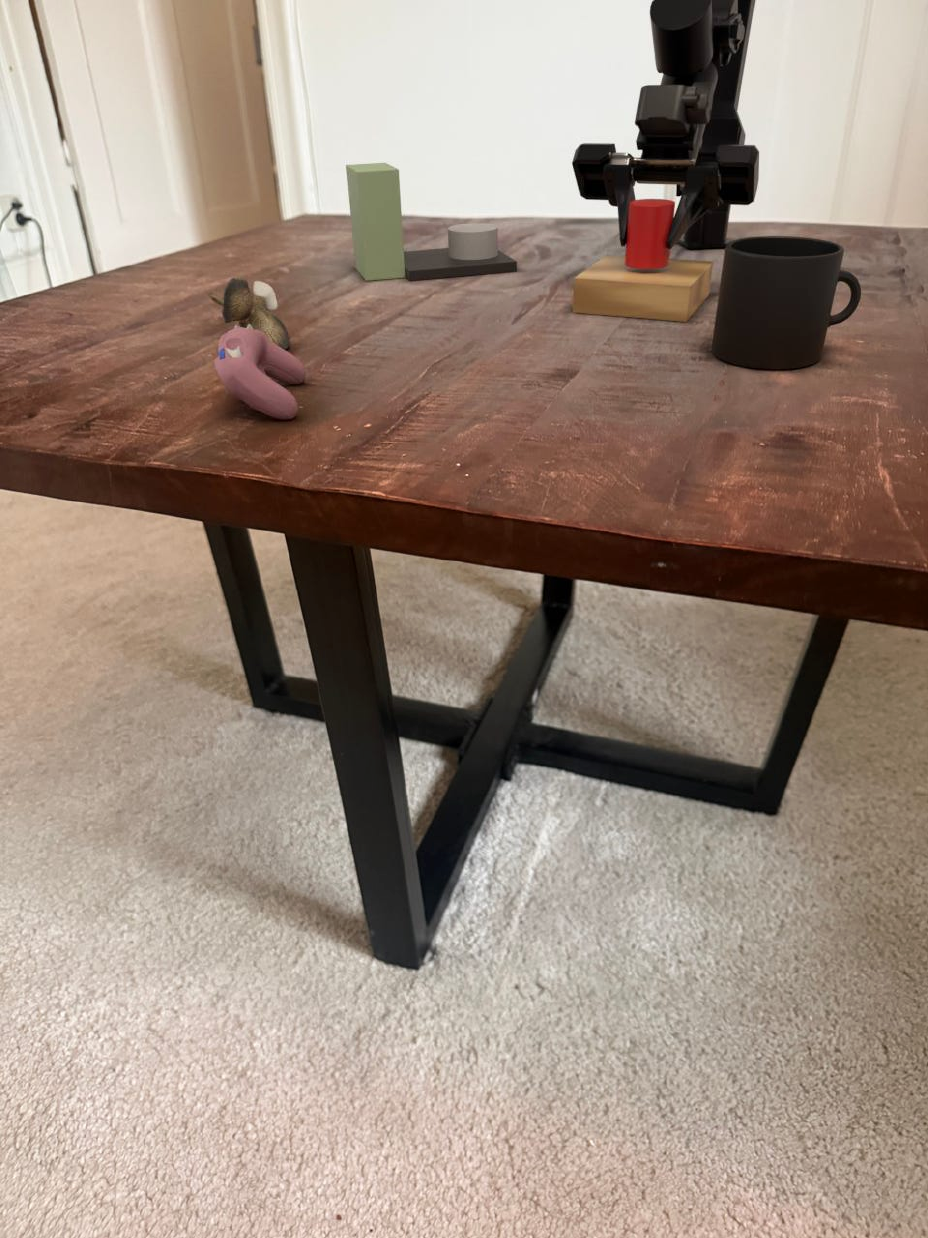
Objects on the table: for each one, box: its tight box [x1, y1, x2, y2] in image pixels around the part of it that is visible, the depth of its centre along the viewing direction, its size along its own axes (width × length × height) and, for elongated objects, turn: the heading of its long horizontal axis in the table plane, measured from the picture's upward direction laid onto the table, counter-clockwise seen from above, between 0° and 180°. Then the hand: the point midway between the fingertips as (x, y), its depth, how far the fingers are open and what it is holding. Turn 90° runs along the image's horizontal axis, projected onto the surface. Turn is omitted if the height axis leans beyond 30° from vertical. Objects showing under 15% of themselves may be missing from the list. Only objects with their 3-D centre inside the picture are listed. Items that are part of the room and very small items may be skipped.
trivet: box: [572, 254, 714, 323], centre depth 90 cm, size 12×12×4 cm
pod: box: [624, 198, 676, 269], centre depth 87 cm, size 5×5×6 cm
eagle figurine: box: [205, 277, 291, 350], centre depth 81 cm, size 8×7×9 cm
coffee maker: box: [345, 162, 518, 282], centre depth 106 cm, size 19×12×12 cm, turn 106°
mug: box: [711, 235, 862, 370], centre depth 73 cm, size 9×12×9 cm
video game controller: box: [214, 324, 307, 420], centre depth 67 cm, size 10×5×7 cm, turn 5°
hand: (645, 244), depth 87 cm, fingers closed on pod, 4 cm apart
